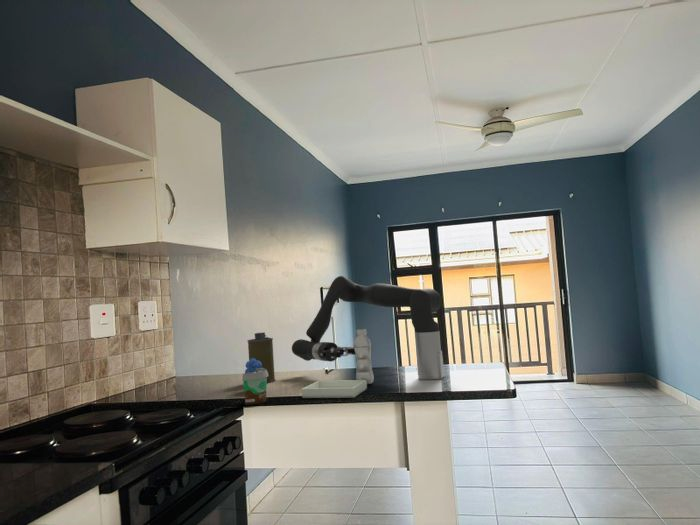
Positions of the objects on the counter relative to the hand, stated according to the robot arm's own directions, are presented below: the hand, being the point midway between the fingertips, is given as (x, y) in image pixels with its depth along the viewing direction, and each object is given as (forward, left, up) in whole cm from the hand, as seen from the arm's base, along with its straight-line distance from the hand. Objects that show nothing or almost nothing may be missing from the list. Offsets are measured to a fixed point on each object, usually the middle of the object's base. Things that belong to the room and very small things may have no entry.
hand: (349, 353), depth 195 cm
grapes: (+33, +15, -11) cm, 38 cm away
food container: (+21, +33, -11) cm, 41 cm away
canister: (+40, -5, -11) cm, 42 cm away
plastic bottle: (-7, +5, -11) cm, 14 cm away
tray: (-1, +21, -11) cm, 23 cm away
